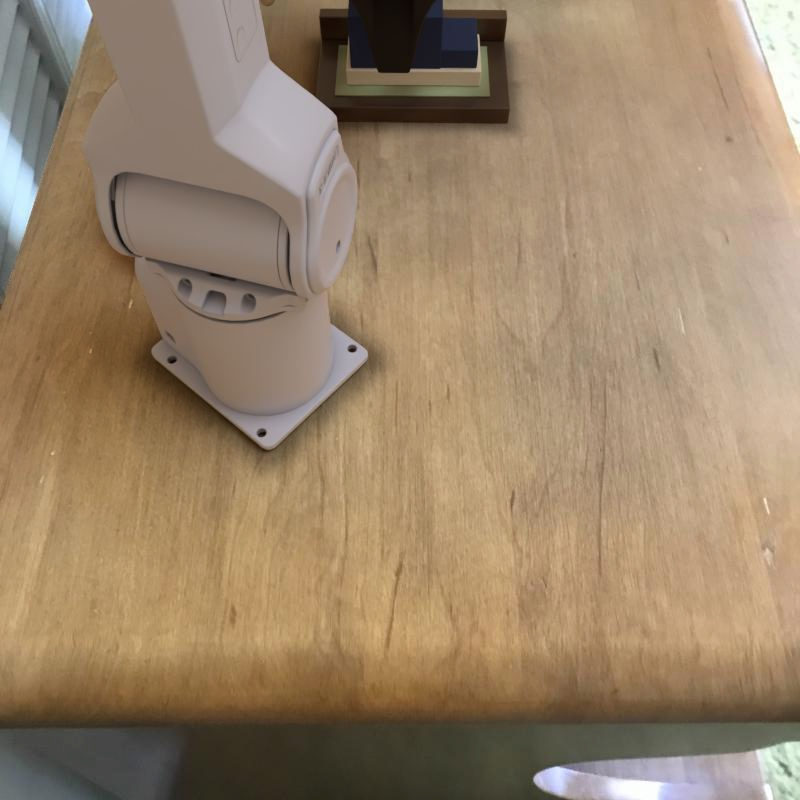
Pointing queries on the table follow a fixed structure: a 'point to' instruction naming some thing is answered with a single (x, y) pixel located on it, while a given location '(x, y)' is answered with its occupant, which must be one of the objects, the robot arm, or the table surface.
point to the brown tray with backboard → (414, 99)
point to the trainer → (421, 53)
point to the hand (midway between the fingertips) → (394, 31)
